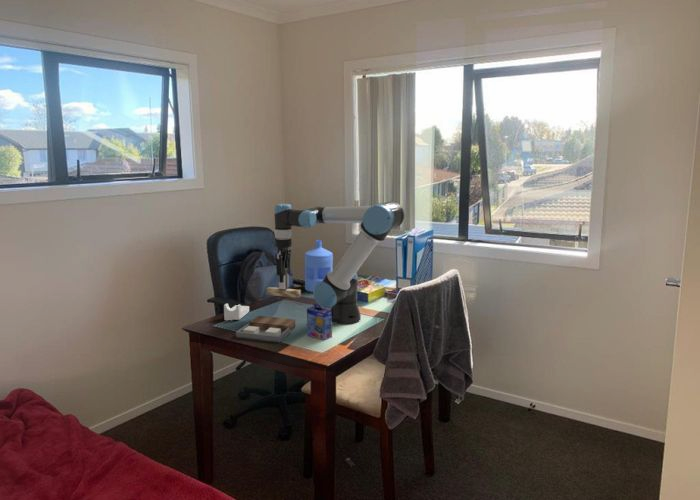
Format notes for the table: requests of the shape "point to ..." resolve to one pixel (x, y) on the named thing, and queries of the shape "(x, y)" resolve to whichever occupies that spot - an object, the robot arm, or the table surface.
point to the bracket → (235, 312)
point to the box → (262, 335)
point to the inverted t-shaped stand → (286, 291)
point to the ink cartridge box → (319, 322)
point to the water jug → (317, 265)
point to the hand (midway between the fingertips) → (283, 287)
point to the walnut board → (273, 323)
